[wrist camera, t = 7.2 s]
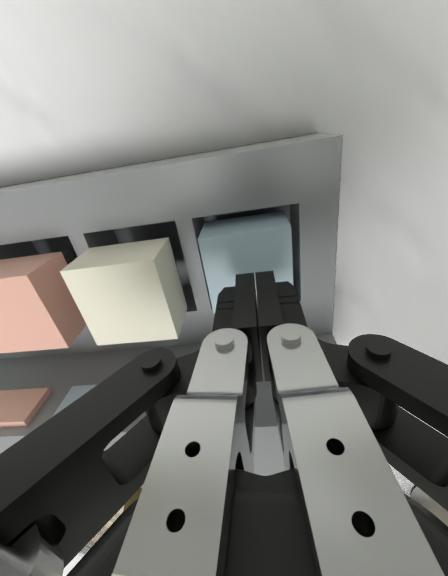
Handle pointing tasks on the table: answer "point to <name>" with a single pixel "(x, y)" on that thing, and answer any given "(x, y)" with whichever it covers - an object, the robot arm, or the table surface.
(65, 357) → the keypad
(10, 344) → the key coral
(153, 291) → the key cream
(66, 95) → the table surface
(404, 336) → the table surface
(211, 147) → the table surface
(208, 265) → the key blue
